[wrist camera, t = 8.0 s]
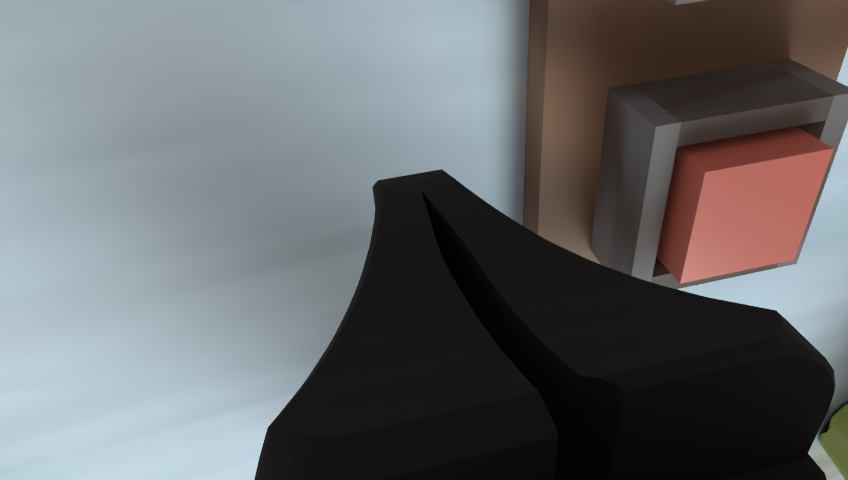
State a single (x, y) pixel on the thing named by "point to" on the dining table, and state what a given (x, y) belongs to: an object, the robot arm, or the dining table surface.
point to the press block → (663, 108)
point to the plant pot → (837, 441)
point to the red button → (740, 202)
